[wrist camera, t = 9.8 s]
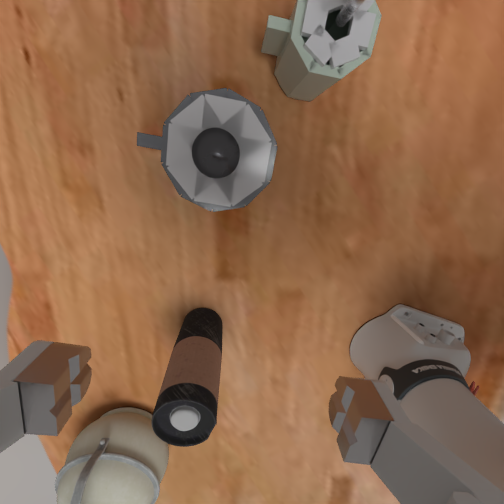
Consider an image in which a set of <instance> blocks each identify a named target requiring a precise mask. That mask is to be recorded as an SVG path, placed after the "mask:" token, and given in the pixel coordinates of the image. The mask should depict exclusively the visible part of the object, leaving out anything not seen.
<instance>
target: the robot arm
mask: <svg viewBox="0 0 504 504" xmlns="http://www.w3.org/2000/svg"><path fill="white" fill-rule="evenodd" d="M405 312H406V313H405ZM464 336H465V333H464V328H463V327H462V326H461V325H460V324H458V323H455V322H452V321H449V320H446V319H443V318H441V317H438V316H435V315H432V314H429V313H426V312H423V311H420V310H417V309H414V308H411V307H408V306H405V305H402V304H399V305H396V306H395V307H393V308H392V309H391V310H390V311H388V312H387V313H386V314H384V315H382V316H380V317H377V318H375V319H373V320H371V321H369V322H368V323H366V324H365V325H364V326H362V327H361V328H360V329H359V330H358V332H357V333H356V334H355V336H354V338H353V340H352V342H351V346H350V357H351V360H352V362H353V364H354V365H355V366H356V367H357V368H358V369H359V370H360V371H361V372H362V373H363V375H364V377H365V379H361V378H352V377H342V376H339V378H338V379H337V381H336V383H335V387H336V389H337V391H336V392H335V393H334V394H332V395H331V398H330V402H329V417H330V421H331V425H332V427H333V428H334V429H335V430H336V431H337V432H338V433H339V435H338V437H337V443H338V446H339V449H340V452H341V455H342V458H343V461H344V462H350V463H358V464H366V465H371V466H370V467H371V468H372V469H373V470H374V472H375V473H376V474H377V475H378V476H379V478H380V479H381V480H382V481H383V483H384V484H385V485H386V486H387V487H388V489H389V490H390V491H391V492H392V494H393V495H394V496H395V497H396V498H397V500H398V501H399V502H400V503H401V504H504V424H503V423H502V422H501V421H500V420H499V419H498V418H497V417H496V416H495V415H494V414H493V413H492V412H491V411H490V410H489V409H488V408H487V407H486V406H485V405H484V404H483V403H482V402H481V401H480V400H479V399H478V398H477V397H475V395H476V393H477V391H478V389H479V386H477V387H476V388H475V382H474V381H473V382H472V383H471V385H470V387H468V385H467V383H466V381H465V379H464V378H465V376H466V374H467V372H468V369H469V366H470V362H471V355H470V352H469V350H468V348H467V347H466V346H465V345H464V344H463V343H464ZM90 358H91V349H90V348H89V347H87V346H80V345H73V344H66V343H59V342H49V341H42V340H37V341H35V342H33V343H31V344H30V345H29V346H28V347H27V348H26V349H25V350H23V351H22V352H21V353H20V354H19V355H18V356H17V357H15V358H14V359H13V360H12V361H11V362H10V363H9V364H7V366H5V367H4V368H3V369H2V370H1V371H0V453H1V452H2V451H3V450H5V449H6V448H8V447H9V446H11V445H12V444H13V443H15V442H16V441H18V440H19V439H20V438H22V437H23V436H24V434H36V435H52V436H58V434H59V433H60V431H61V430H62V428H63V427H64V425H65V424H66V422H67V421H68V420H69V418H70V417H71V415H72V406H74V405H75V404H77V403H78V402H80V401H81V400H82V398H83V397H84V395H85V394H86V392H87V389H88V387H89V384H90V381H91V375H92V372H91V368H90V366H89V365H88V364H87V362H88V361H89V360H90ZM474 388H475V390H474ZM473 390H474V391H473Z"/></svg>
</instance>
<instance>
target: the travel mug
mask: <svg viewBox="0 0 504 504" xmlns="http://www.w3.org/2000/svg"><path fill="white" fill-rule="evenodd" d="M221 359H222V320H221V318H220V316H219V315H218V314H217V313H216V312H215V311H213V310H211V309H207V308H198V309H195V310H193V311H191V312H190V313H189V314H188V315H187V316H186V317H185V319H184V322H183V324H182V327H181V330H180V332H179V335H178V338H177V340H176V343H175V346H174V348H173V351H172V354H171V358H170V361H169V364H168V367H167V370H166V374H165V377H164V380H163V383H162V387H161V390H160V393H159V396H158V399H157V403H156V406H155V409H154V412H153V416H152V428H153V431H154V433H155V434H156V435H157V436H158V437H159V438H160V439H161V440H162V441H164V442H166V443H168V444H171V445H175V446H183V447H185V446H193V445H197V444H200V443H202V442H204V441H205V440H207V439H208V437H209V435H210V433H211V431H212V430H213V428H214V426H215V425H216V423H217V422H216V421H217V406H218V394H219V383H220V371H221Z"/></svg>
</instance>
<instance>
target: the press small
mask: <svg viewBox="0 0 504 504" xmlns="http://www.w3.org/2000/svg"><path fill="white" fill-rule="evenodd" d="M347 2H348V0H297V1H296V3H295V6H294V8H293V11H292V14H291V16H290V19H289V20H288V19H284V18H280V17H276V16H272V15H269V17H268V21H267V26H266V30H265V34H264V38H263V43H262V49H261V52H262V53H266V54H271V55H275V56H277V61H276V66H275V72H274V74H275V76H276V78H277V80H278V83H279V85H280V87H281V88H282V90H283V91H284V92H285V94H286V95H287V97H291V98H294V99H297V100H305V101H312V100H313V99H314V98H316V97H317V96H318V95H320V94H321V93H323V92H324V91H325V90H327V89H328V88H329V87H331V86H332V85H334V84H335V83H336V82H338V81H339V80H340V79H342V78H343V77H344V76H346V75H347V74H348V73H350V72H351V71H352V70H354V69H355V68H356V67H358V66H359V65H360V64H362V63H363V62H364V61H366V60H367V59H368V58H370V57H371V53H372V50H373V46H374V42H375V38H376V34H377V31H378V27H379V23H380V19H381V13H380V11H379V8H378V6H377V4H376V1H375V0H365V1H364V2H363V4H362V5H361V6H360V7H359V8H358V10H357V11H356V12H355V13H354V14H353V16H352V17H351V18H350V19H349V21H348V22H347V23H346V24H345V25H344V26H343V27H338V26H337V25H336V17H337V15H338V14H339V13H340V11H341V10H342V9H343V7H344V6H345V4H346V3H347Z"/></svg>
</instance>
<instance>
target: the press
mask: <svg viewBox="0 0 504 504" xmlns="http://www.w3.org/2000/svg"><path fill="white" fill-rule="evenodd" d="M190 96H191V97H190ZM190 96H189V95H187V96H186V98H185V99H184V100H183V101H182V102H181V103H180V105H179V106H178V107H177V108H176V109H175V110H174V112H173V113H172V114H171V115H170V116H169V117H168V119H167V120H166V121H165V122H164V123H165V124H166V125H163V135H162V137H160V136H155V135H149V134H144V133H139V132H137V146H142V147H147V148H153V149H158V150H162V151H161V162H164V163H162V166H163V168H164V169H165V171H166V173H167V175H168V176H169V178H170V180H171V181H172V183H173V185H174V187H175V188H176V190H177V192H178V194H179V195H181V194H182V195H181V197H183V198H185V199H187V200H189V201H191V202H193V203H195V204H197V205H199V206H201V207H203V208H205V209H207V210H209V211H212V210H213V212H215V211H222V210H228V209H235V208H242V207H245V205H246V206H247V205H248V204H249V203H250V202H251V201H252V200H253V199H254V198H255V197H256V196H257V195H258V194H259V193H260V192H261V191H262V190H263V189H264V188H265V187H266V186H267V185H268V184H269V183H270V182H269V181H271V178H272V172H273V167H274V162H275V157H276V151H277V146H275V145H277V143H276V140H275V138H274V136H273V133H272V131H271V129H270V126H269V124H268V121H267V119H266V117H265V114H264V112H263V110H261V111H260V109H261V108H260V107H259V106H257V105H255V104H254V103H252V102H251V101H249V100H247V99H246V98H244V97H242V96H241V95H239V94H237V93H236V92H234V91H232V90H231V89H228V91H227V88H222V89H216V90H209V91H202V92H196V93H190ZM209 128H221V129H224V130H226V131H228V132H229V133H230V134H232V135H233V137H234V138H235V139H236V141H237V143H238V145H239V149H240V159H239V163H238V165H237V167H236V169H235V170H234V171H233V172H232V173H231V174H230V175H228V176H226V177H223V178H210V177H208V176H206V175H204V174H202V173H201V172H200V171H199V170H198V169H197V167H196V166H195V164H194V161H193V158H192V146H193V143H194V140H195V139H196V137H197V136H198V135H199V134H200V133H201V132H202V131H204V130H206V129H209ZM244 204H245V205H244Z"/></svg>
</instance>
